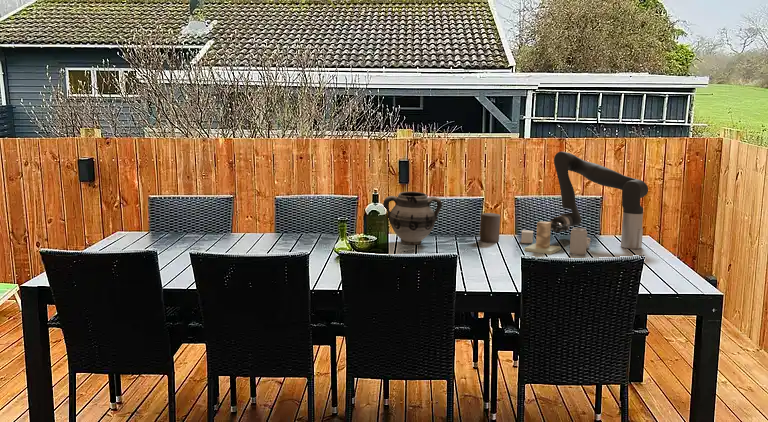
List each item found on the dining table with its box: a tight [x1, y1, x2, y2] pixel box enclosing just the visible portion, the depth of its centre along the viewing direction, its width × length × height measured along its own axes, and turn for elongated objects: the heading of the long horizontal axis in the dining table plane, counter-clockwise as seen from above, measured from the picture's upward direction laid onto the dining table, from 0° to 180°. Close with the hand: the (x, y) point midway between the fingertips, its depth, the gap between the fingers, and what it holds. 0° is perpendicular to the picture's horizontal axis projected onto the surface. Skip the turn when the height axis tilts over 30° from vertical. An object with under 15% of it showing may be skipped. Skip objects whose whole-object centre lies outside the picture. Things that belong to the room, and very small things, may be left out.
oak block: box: [535, 220, 552, 249], centre depth 327 cm, size 5×5×12 cm
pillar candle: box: [479, 211, 501, 244], centre depth 347 cm, size 10×10×15 cm
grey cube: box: [520, 229, 534, 244], centre depth 348 cm, size 6×6×6 cm
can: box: [569, 227, 588, 256], centre depth 321 cm, size 8×8×12 cm
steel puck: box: [586, 237, 591, 250], centre depth 334 cm, size 6×6×5 cm
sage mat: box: [524, 242, 562, 255], centre depth 328 cm, size 13×13×2 cm
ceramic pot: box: [382, 190, 443, 246], centre depth 337 cm, size 29×23×25 cm
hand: (548, 228), depth 331 cm, fingers open, 8 cm apart
